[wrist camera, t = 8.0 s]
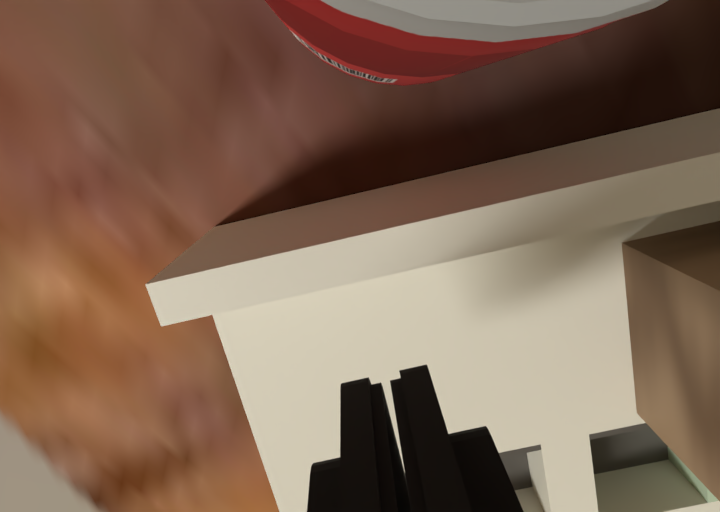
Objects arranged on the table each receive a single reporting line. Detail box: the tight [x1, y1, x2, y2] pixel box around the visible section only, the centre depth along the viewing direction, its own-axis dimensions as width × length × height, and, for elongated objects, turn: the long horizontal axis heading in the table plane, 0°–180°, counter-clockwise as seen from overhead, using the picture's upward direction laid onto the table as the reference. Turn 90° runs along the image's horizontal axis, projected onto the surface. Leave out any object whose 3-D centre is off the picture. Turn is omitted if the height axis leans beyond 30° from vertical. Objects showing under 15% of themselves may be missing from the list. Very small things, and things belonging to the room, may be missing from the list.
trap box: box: [145, 108, 720, 512], centre depth 15 cm, size 13×18×6 cm
